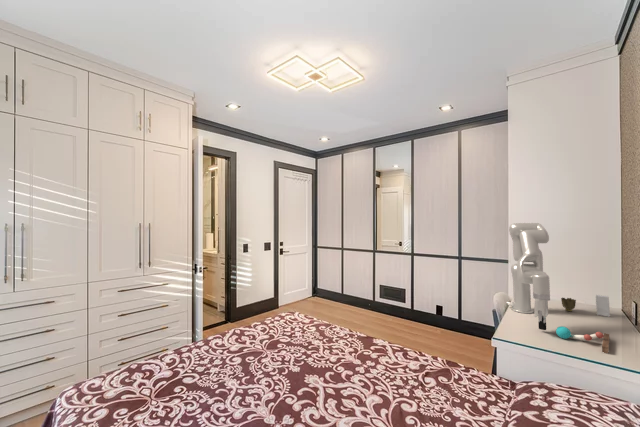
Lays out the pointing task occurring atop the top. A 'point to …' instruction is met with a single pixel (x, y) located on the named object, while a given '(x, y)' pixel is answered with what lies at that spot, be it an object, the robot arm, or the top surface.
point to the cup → (568, 304)
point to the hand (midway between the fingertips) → (542, 329)
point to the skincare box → (602, 305)
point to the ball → (563, 332)
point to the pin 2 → (596, 336)
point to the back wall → (605, 343)
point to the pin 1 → (581, 337)
